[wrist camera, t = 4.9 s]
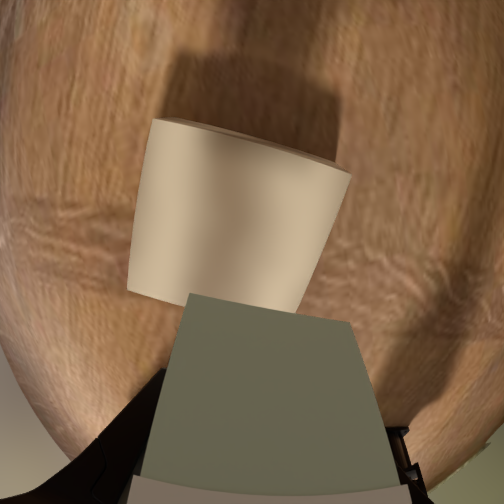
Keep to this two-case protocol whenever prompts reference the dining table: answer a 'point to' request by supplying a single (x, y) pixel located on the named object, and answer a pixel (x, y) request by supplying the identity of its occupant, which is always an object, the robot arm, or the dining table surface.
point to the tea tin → (265, 414)
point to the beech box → (230, 216)
